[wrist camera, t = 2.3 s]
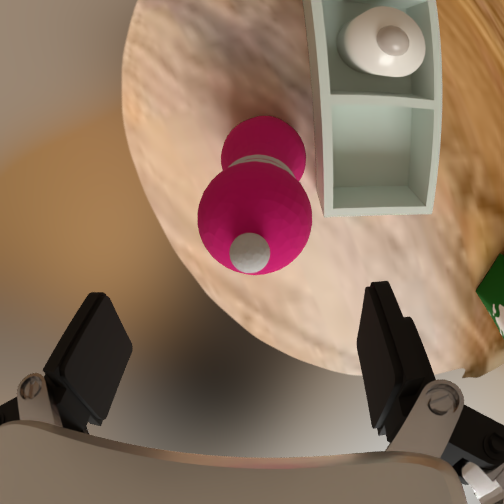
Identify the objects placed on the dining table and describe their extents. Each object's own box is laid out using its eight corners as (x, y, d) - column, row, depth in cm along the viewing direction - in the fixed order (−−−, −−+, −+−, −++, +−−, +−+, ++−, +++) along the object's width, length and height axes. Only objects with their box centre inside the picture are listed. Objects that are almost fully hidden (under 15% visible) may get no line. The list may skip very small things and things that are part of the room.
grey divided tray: (301, -4, 21) (307, -21, 16) (408, 4, 20) (434, -6, 15) (316, 191, 32) (324, 217, 27) (410, 189, 31) (431, 214, 26)
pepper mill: (316, 139, 29) (370, 250, 12) (273, 192, 32) (266, 344, 16) (256, 96, 27) (220, 143, 10) (215, 154, 31) (139, 276, 14)
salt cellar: (333, 17, 21) (355, -2, 14) (391, 21, 20) (430, 9, 13) (338, 73, 24) (362, 75, 17) (395, 75, 23) (436, 82, 16)
